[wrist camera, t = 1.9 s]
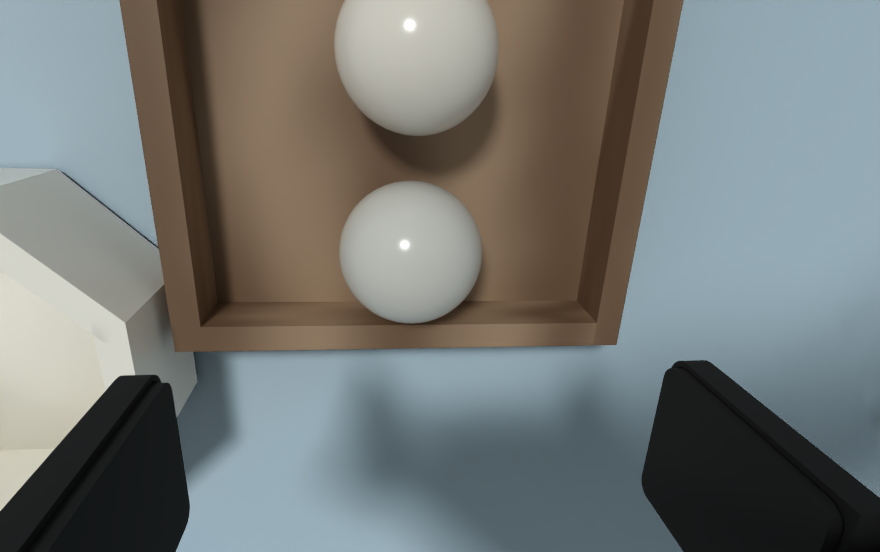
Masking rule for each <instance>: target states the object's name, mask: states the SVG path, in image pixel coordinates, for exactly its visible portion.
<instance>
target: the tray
mask: <svg viewBox="0 0 880 552" xmlns="http://www.w3.org/2000/svg"><path fill="white" fill-rule="evenodd" d="M343 2H344V0H120V6H121V13H122V19H123V25H124V32H125V38H126V45H127V51H128V57H129V64H130V70H131V76H132V83H133V89H134V95H135V102H136V108H137V114H138V121H139V127H140V133H141V140H142V146H143V152H144V159H145V165H146V171H147V178H148V184H149V191H150V197H151V203H152V210H153V216H154V222H155V229H156V235H157V241H158V248H159V254H160V260H161V267H162V273H163V279H164V286H165V292H166V298H167V305H168V311H169V317H170V324H171V330H172V337H173V343H174V349H175V352H209V351H270V350H332V349H393V348H454V347H516V346H577V345H616V344H617V339H618V334H619V329H620V324H621V318H622V313H623V308H624V303H625V298H626V293H627V288H628V282H629V277H630V272H631V267H632V262H633V257H634V252H635V247H636V241H637V236H638V231H639V226H640V221H641V216H642V211H643V205H644V200H645V195H646V190H647V185H648V180H649V175H650V169H651V164H652V159H653V154H654V149H655V144H656V139H657V133H658V128H659V123H660V118H661V113H662V108H663V103H664V97H665V92H666V87H667V82H668V77H669V72H670V67H671V62H672V56H673V51H674V46H675V41H676V36H677V31H678V26H679V20H680V15H681V10H682V5H683V0H487V2H488V4H489V6H490V8H491V10H492V13H493V16H494V18H495V22H496V26H497V31H498V40H499V56H498V63H497V69H496V72H495V76H494V79H493V82H492V84H491V87H490V89H489V91H488V93H487V94H486V96H485V98H484V99H483V101H482V102H481V104H480V105H479V106H478V108H477V109H476V110H475V111H474V112H473V113H472V114H471V115H470V116H469V117H468V118H466V119H465V120H464V121H463V122H461V123H459V124H458V125H456V126H455V127H453V128H451V129H448V130H446V131H444V132H440V133H437V134H433V135H427V136H410V135H403V134H399V133H395V132H393V131H390V130H387V129H385V128H383V127H381V126H380V125H378V124H376V123H375V122H373V121H372V120H371V119H369V118H368V117H367V116H366V115H364V114H363V113H362V112H361V111H360V110H359V109H358V107H357V106H356V105H355V104H354V103H353V101H352V100H351V98H350V97H349V95H348V94H347V92H346V90H345V88H344V86H343V84H342V82H341V79H340V76H339V73H338V70H337V65H336V60H335V52H334V34H335V28H336V22H337V19H338V15H339V12H340V9H341V7H342V5H343ZM400 181H422V182H427V183H431V184H434V185H437V186H439V187H441V188H443V189H445V190H447V191H449V192H450V193H451V194H453V195H454V196H456V197H457V198H458V199H459V200H460V201H461V202H462V203H463V204H464V205H465V206H466V208H467V209H468V210H469V211H470V213H471V215H472V216H473V218H474V220H475V222H476V225H477V227H478V229H479V233H480V237H481V243H482V262H481V268H480V272H479V275H478V278H477V280H476V282H475V284H474V286H473V288H472V290H471V291H470V293H469V294H468V296H467V297H466V298H465V299H464V300H463V301H462V302H461V303H460V304H459V305H458V306H457V307H456V308H455V309H453V310H452V311H450V312H449V313H447V314H445V315H444V316H442V317H439V318H437V319H434V320H431V321H428V322H423V323H413V324H411V323H399V322H394V321H390V320H387V319H384V318H382V317H380V316H378V315H376V314H374V313H373V312H371V311H370V310H368V309H367V308H366V307H364V306H363V305H362V304H361V303H360V302H359V301H358V300H357V299H356V298H355V296H354V295H353V294H352V292H351V291H350V289H349V287H348V285H347V284H346V281H345V279H344V276H343V274H342V270H341V266H340V259H339V243H340V238H341V233H342V230H343V227H344V225H345V222H346V220H347V218H348V216H349V215H350V213H351V212H352V210H353V209H354V207H355V206H356V205H357V204H358V203H359V202H360V201H361V200H362V199H363V198H364V197H365V196H367V195H368V194H369V193H371V192H373V191H374V190H376V189H378V188H380V187H382V186H384V185H387V184H391V183H394V182H400Z"/></svg>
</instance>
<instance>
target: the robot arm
mask: <svg viewBox="0 0 880 552" xmlns="http://www.w3.org/2000/svg"><path fill="white" fill-rule="evenodd" d="M642 487H643V490H644V493H645V495H646V497H647V498H648V500H649V501H650V503H651V504H652V506H653V507H654V509H655V510H656V512H657V513H658V515H659V516H660V518H661V519H662V521H663V522H664V524H665V525H666V526H667V528H668V529H669V531H670V532H671V534H672V535H673V537H674V538H675V540H676V541H677V543H678V544H679V546H680V547H681V549H682V550H683V552H880V498H879V497H878V496H876V495H875V494H874V493H873V492H871V491H870V490H869V489H868V488H866V487H865V486H864V485H863V484H862V483H860V482H859V481H858V480H857V479H855V478H854V477H853V476H852V475H850V474H849V473H848V472H847V471H845V470H844V469H843V468H842V467H840V466H839V465H838V464H837V463H835V462H834V461H833V460H832V459H830V458H829V457H828V456H827V455H825V454H824V453H823V452H822V451H820V450H819V449H818V448H817V447H815V446H814V445H813V444H812V443H810V442H809V441H808V440H807V439H805V438H804V437H803V436H802V435H800V434H799V433H798V432H797V431H795V430H794V429H793V428H792V427H790V426H789V425H788V424H787V423H785V422H784V421H783V420H782V419H780V418H779V417H778V416H777V415H775V414H774V413H773V412H772V411H770V410H769V409H768V408H767V407H766V406H764V405H763V404H762V403H761V402H759V401H758V400H757V399H756V398H754V397H753V396H752V395H751V394H749V393H748V392H747V391H746V390H744V389H743V388H742V387H741V386H739V385H738V384H737V383H736V382H734V381H733V380H732V379H731V378H729V377H728V376H727V375H726V374H724V373H723V372H722V371H721V370H719V369H718V368H717V367H716V366H714V365H713V364H712V363H710V362H709V361H704V360H700V361H678V362H676V363H674V365H673V366H672V368H670V369H668V370H667V371H666V372H665V375H664V378H663V383H662V388H661V392H660V397H659V401H658V406H657V410H656V415H655V419H654V424H653V428H652V433H651V437H650V442H649V446H648V451H647V455H646V460H645V464H644V469H643V473H642ZM189 509H190V504H189V496H188V490H187V483H186V477H185V470H184V464H183V457H182V451H181V444H180V437H179V431H178V424H177V418H176V411H175V405H174V398H173V392H172V387H171V385H170V384H169V383H161V380H160V378H159V376H157V375H123V376H119V377H118V378H116V379H115V380H114V382H113V383H112V384H111V385H110V386H109V387H108V388H107V390H106V391H105V392H104V393H103V394H102V395H101V396H100V398H99V399H98V400H97V401H96V402H95V403H94V405H93V406H92V407H91V408H90V409H89V410H88V411H87V413H86V414H85V415H84V416H83V417H82V418H81V419H80V421H79V422H78V423H77V424H76V425H75V426H74V427H73V429H72V430H71V431H70V432H69V433H68V434H67V435H66V437H65V438H64V439H63V440H62V441H61V442H60V443H59V445H58V446H57V447H56V448H55V449H54V450H53V451H52V453H51V454H50V455H49V456H48V457H47V458H46V459H45V461H44V462H43V463H42V464H41V465H40V466H39V467H38V469H37V470H36V471H35V472H34V473H33V474H32V475H31V477H30V478H29V479H28V480H27V481H26V482H25V483H24V485H23V486H22V487H21V488H20V489H19V490H18V491H17V493H16V494H15V495H14V496H13V497H12V498H11V499H10V501H9V502H8V503H7V504H6V505H5V506H4V507H3V509H2V510H1V511H0V552H176V549H177V547H178V545H179V542H180V540H181V537H182V535H183V533H184V530H185V528H186V525H187V522H188V518H189Z"/></svg>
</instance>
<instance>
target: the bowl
mask: <svg viewBox="0 0 880 552" xmlns="http://www.w3.org/2000/svg"><path fill="white" fill-rule="evenodd" d="M123 375H157V376H159V378H160V380H161V383H169V384H170V385H171V387H172V392H173V398H174V405H175V411H176V418H177V417H178V415H179V413H180V412H181V410H182V408H183V406H184V405H185V403H186V401H187V399H188V398H189V396H190V394H191V393H192V391H193V389H194V387H195V386H196V384H197V382H198V381H197V374H196V367H195V360H194V353H193V352H175V349H174V343H173V337H172V330H171V324H170V317H169V311H168V305H167V298H166V292H165V286H164V279H163V273H162V267H161V260H160V254H159V249H158V248H156V247H155V246H154V245H153V244H151V243H150V242H149V241H148V240H146V239H145V238H144V237H142V236H141V235H140V234H139V233H137V232H136V231H135V230H134V229H132V228H131V227H130V226H129V225H127V224H126V223H125V222H123V221H122V220H121V219H120V218H118V217H117V216H116V215H115V214H113V213H112V212H111V211H110V210H108V209H107V208H106V207H105V206H103V205H102V204H101V203H99V202H98V201H97V200H96V199H94V198H93V197H92V196H91V195H89V194H88V193H87V192H86V191H84V190H83V189H82V188H81V187H79V186H78V185H77V184H75V183H74V182H73V181H72V180H70V179H69V178H68V177H67V176H65V175H64V174H63V173H62V172H60V171H59V170H58V169H30V168H0V511H1V510H2V509H3V507H4V506H5V505H6V504H7V503H8V502H9V501H10V499H11V498H12V497H13V496H14V495H15V494H16V493H17V491H18V490H19V489H20V488H21V487H22V486H23V485H24V483H25V482H26V481H27V480H28V479H29V478H30V477H31V475H32V474H33V473H34V472H35V471H36V470H37V469H38V467H39V466H40V465H41V464H42V463H43V462H44V461H45V459H46V458H47V457H48V456H49V455H50V454H51V453H52V451H53V450H54V449H55V448H56V447H57V446H58V445H59V443H60V442H61V441H62V440H63V439H64V438H65V437H66V435H67V434H68V433H69V432H70V431H71V430H72V429H73V427H74V426H75V425H76V424H77V423H78V422H79V421H80V419H81V418H82V417H83V416H84V415H85V414H86V413H87V411H88V410H89V409H90V408H91V407H92V406H93V405H94V403H95V402H96V401H97V400H98V399H99V398H100V396H101V395H102V394H103V393H104V392H105V391H106V390H107V388H108V387H109V386H110V385H111V384H112V383H113V382H114V380H115V379H116V378H118V377H119V376H123Z"/></svg>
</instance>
